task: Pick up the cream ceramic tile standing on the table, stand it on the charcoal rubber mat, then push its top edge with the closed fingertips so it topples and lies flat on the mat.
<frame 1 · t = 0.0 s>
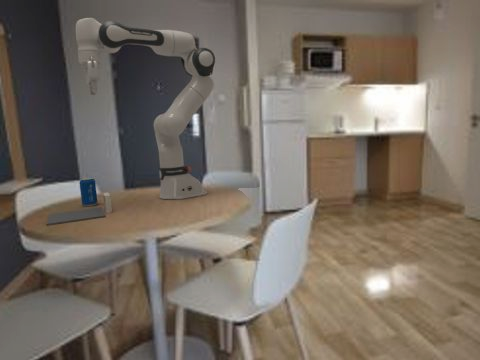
hand: (93, 93, 152), 48 cm above the table, fingers open, 8 cm apart
mat: (76, 216, 142), on the table
tile: (108, 210, 148), on the table
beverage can: (90, 205, 162), on the table
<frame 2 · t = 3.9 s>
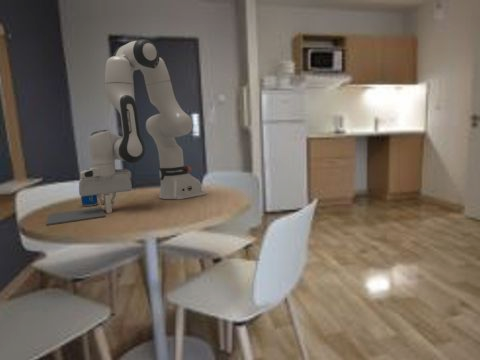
hand: (107, 204, 148), 3 cm above the table, fingers closed on tile, 2 cm apart
tile: (108, 210, 148), on the table, touching gripper
everything else where it was.
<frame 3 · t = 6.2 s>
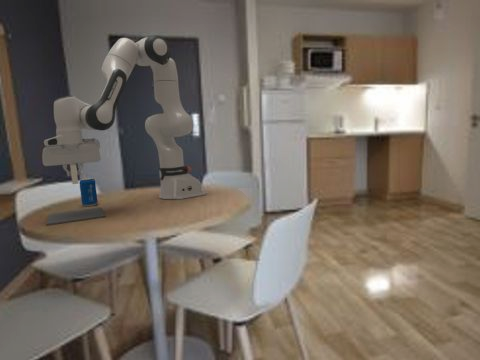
hand: (74, 175, 140), 16 cm above the table, fingers closed on tile, 2 cm apart
tile: (75, 182, 140), point 13 cm above the table, touching gripper
everything else where it was.
when the fingers open (4 cm above the table, at t = 8.4 s): tile stays where it is, resting on mat.
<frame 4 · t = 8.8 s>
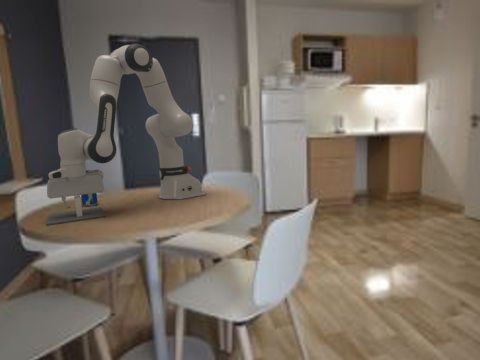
hand: (78, 206, 141), 4 cm above the table, fingers open, 6 cm apart
tile: (79, 214, 142), point 1 cm above the table, touching mat
everything else where it was.
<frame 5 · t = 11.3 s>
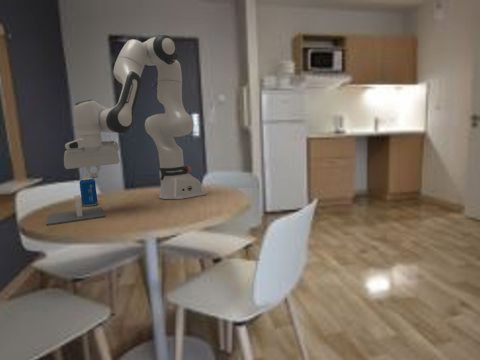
hand: (94, 177, 143), 14 cm above the table, fingers closed
nothing on the table moved.
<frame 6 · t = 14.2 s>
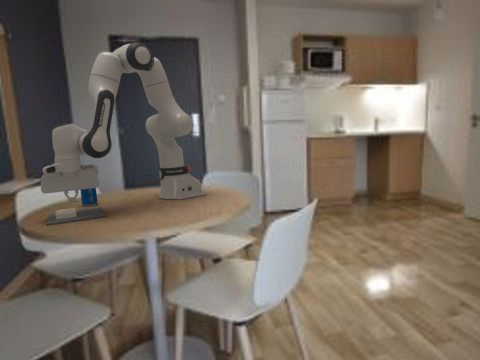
hand: (72, 202, 140), 6 cm above the table, fingers closed
tile: (76, 212, 141), point 2 cm above the table, tilted 90°, touching mat
everything else where it was.
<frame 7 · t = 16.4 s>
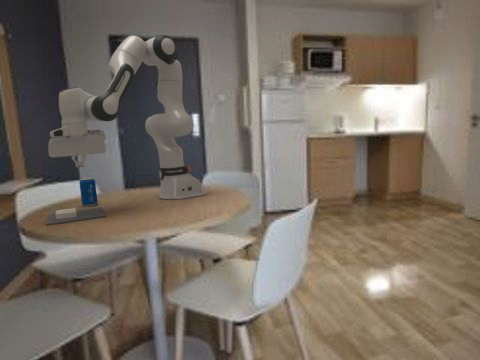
hand: (80, 166, 140), 19 cm above the table, fingers closed
nothing on the table moved.
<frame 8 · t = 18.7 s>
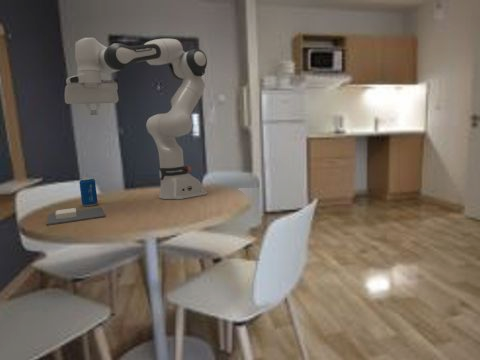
hand: (93, 114, 147), 39 cm above the table, fingers closed
nothing on the table moved.
at the end: tile tilted 90°; tile inside the target area on the mat (0.0 cm from its centre), point 1.6 cm above the mat's base; the gripper is holding nothing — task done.
